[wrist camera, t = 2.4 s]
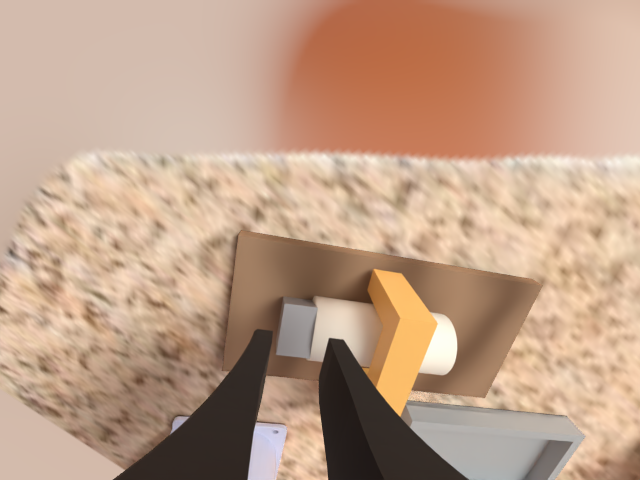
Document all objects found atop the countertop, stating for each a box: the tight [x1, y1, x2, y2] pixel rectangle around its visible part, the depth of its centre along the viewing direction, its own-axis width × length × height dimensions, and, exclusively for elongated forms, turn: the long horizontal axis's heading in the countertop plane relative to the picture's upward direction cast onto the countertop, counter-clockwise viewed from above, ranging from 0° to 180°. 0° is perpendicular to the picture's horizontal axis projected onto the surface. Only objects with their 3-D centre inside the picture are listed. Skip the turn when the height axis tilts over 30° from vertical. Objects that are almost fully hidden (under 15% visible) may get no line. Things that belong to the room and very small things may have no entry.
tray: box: [401, 401, 585, 480], centre depth 28 cm, size 17×10×2 cm, turn 78°
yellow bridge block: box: [362, 269, 438, 417], centre depth 19 cm, size 2×10×6 cm, turn 169°
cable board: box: [222, 230, 542, 398], centre depth 22 cm, size 22×11×1 cm, turn 78°
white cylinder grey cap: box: [276, 296, 457, 375], centre depth 20 cm, size 11×4×4 cm, turn 78°
